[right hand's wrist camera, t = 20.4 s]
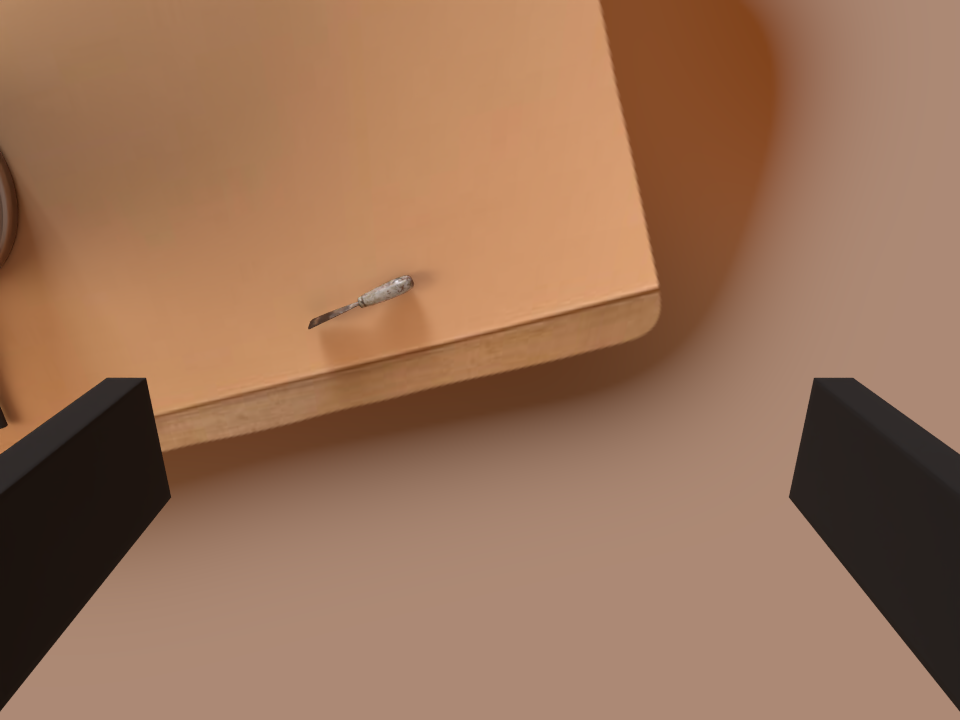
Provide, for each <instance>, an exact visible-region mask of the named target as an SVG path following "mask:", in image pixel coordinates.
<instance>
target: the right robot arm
mask: <svg viewBox="0 0 960 720" xmlns="http://www.w3.org/2000/svg"><path fill="white" fill-rule="evenodd" d="M17 223H18V206H17V197H16V192H15V187H14V183H13V180H12V177H11V174H10V171H9V168H8V166H7V163H6V161H5V159H4V157H3V155H2V153H1V151H0V268H1V267H2V265H3V264H4V262H5V261H6V259H7V258H8V255H9V253H10V251H11V249H12V246H13V243H14V240H15V236H16V231H17ZM7 425H8V424H7V422H6V420H5V417H4V415H3V412H2V410H1V408H0V429H1V428H4V427H6V426H7ZM170 498H171V495H170V490H169V485H168V480H167V476H166V471H165V466H164V461H163V457H162V452H161V447H160V442H159V437H158V433H157V428H156V423H155V418H154V414H153V409H152V404H151V399H150V395H149V390H148V385H147V380H146V378H106V379H105V380H103V381H102V382H101V383H99V384H98V385H96V386H95V387H94V388H92V389H91V390H89V391H88V392H87V393H85V394H84V395H82V396H81V397H80V398H78V399H77V400H75V401H74V402H73V403H71V404H70V405H68V406H67V407H66V408H64V409H63V410H62V411H60V412H59V413H57V414H56V415H55V416H53V417H52V418H50V419H49V420H48V421H46V422H45V423H43V424H42V425H41V426H39V427H38V428H36V429H35V430H34V431H32V432H31V433H29V434H28V435H27V436H25V437H24V438H22V439H21V440H20V441H18V442H17V443H16V444H14V445H13V446H11V447H10V448H9V449H7V450H6V451H4V452H3V453H2V454H0V711H1V710H2V708H3V707H4V706H5V705H6V703H7V702H8V701H9V700H10V698H11V697H12V696H13V695H14V693H15V692H16V691H17V690H18V688H19V687H20V686H21V685H22V683H23V682H24V681H25V680H26V678H27V677H28V676H29V675H30V673H31V672H32V671H33V670H34V668H35V667H36V666H37V665H38V663H39V662H40V661H41V660H42V658H43V657H44V656H45V655H46V653H47V652H48V651H49V650H50V648H51V647H52V646H53V645H54V643H55V642H56V641H57V639H58V638H59V637H60V636H61V635H62V633H63V632H64V631H65V630H66V628H67V627H68V626H69V625H70V623H71V622H72V621H73V619H74V618H75V617H76V616H77V614H78V613H79V612H80V611H81V609H82V608H83V607H84V606H85V604H86V603H87V602H88V601H89V599H90V598H91V597H92V596H93V594H94V593H95V592H96V591H97V589H98V588H99V587H100V586H101V584H102V583H103V582H104V581H105V579H106V578H107V577H108V576H109V574H110V573H111V572H112V571H113V569H114V568H115V567H116V566H117V564H118V563H119V562H120V561H121V559H122V558H123V557H124V556H125V554H126V553H127V552H128V550H129V549H130V548H131V547H132V546H133V544H134V543H135V542H136V541H137V539H138V538H139V537H140V536H141V534H142V533H143V532H144V531H145V529H146V528H147V527H148V525H149V524H150V523H151V522H152V521H153V519H154V518H155V517H156V516H157V514H158V513H159V512H160V511H161V509H162V508H163V507H164V506H165V504H166V503H167V502H168V500H169V499H170ZM789 498H790V499H791V500H792V502H793V503H794V504H795V506H796V507H797V508H798V509H799V511H800V512H801V513H802V514H803V516H804V517H805V518H806V519H807V521H808V522H809V523H810V524H811V525H812V527H813V528H814V529H815V531H816V532H817V533H818V534H819V536H820V537H821V538H822V539H823V541H824V542H825V543H826V544H827V546H828V547H829V548H830V549H831V551H832V552H833V553H834V554H835V556H836V557H837V558H838V559H839V561H840V562H841V563H842V564H843V566H844V567H845V568H846V569H847V571H848V572H849V573H850V574H851V576H852V577H853V578H854V579H855V581H856V582H857V583H858V584H859V586H860V587H861V588H862V589H863V591H864V592H865V593H866V594H867V596H868V597H869V598H870V599H871V601H872V602H873V603H874V604H875V606H876V607H877V608H878V609H879V611H880V612H881V613H882V614H883V616H884V617H885V618H886V619H887V621H888V622H889V623H890V625H891V626H892V627H893V628H894V630H895V631H896V632H897V633H898V635H899V636H900V637H901V638H902V640H903V641H904V642H905V643H906V645H907V646H908V647H909V648H910V650H911V651H912V652H913V653H914V655H915V656H916V657H917V658H918V660H919V661H920V662H921V663H922V665H923V666H924V667H925V668H926V670H927V671H928V672H929V673H930V675H931V676H932V677H933V678H934V680H935V681H936V682H937V683H938V685H939V686H940V687H941V688H942V690H943V691H944V692H945V693H946V695H947V696H948V697H949V698H950V700H951V701H952V702H953V703H954V705H955V706H956V707H957V708H958V710H959V711H960V454H958V453H957V452H956V451H954V450H953V449H951V448H950V447H949V446H947V445H946V444H944V443H943V442H942V441H940V440H939V439H938V438H936V437H935V436H933V435H932V434H931V433H929V432H928V431H926V430H925V429H923V428H922V427H921V426H919V425H918V424H917V423H915V422H914V421H912V420H911V419H910V418H908V417H907V416H905V415H904V414H903V413H901V412H900V411H898V410H897V409H896V408H894V407H893V406H892V405H890V404H889V403H887V402H886V401H885V400H883V399H882V398H880V397H879V396H878V395H876V394H875V393H873V392H872V391H871V390H869V389H868V388H866V387H865V386H864V385H862V384H861V383H859V382H858V381H857V380H855V379H854V378H814V380H813V385H812V390H811V395H810V400H809V404H808V409H807V414H806V419H805V423H804V428H803V433H802V438H801V442H800V447H799V452H798V457H797V461H796V466H795V471H794V476H793V480H792V485H791V490H790V495H789Z"/></svg>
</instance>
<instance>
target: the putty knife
mask: <svg viewBox="0 0 960 720" xmlns="http://www.w3.org/2000/svg"><path fill="white" fill-rule="evenodd" d="M413 286H414V283H413V280H412V278H411V277H410V276H408V275H406V276H402V277H399V278H396V279H394V280H391V281H389V282H387V283H385V284H383V285H381V286H379V287H377V288H375V289H373V290H371V291H369V292H367V293H365V294H364V295H362V296H361V297H359V298H358V302H356V303H353V304H350V305H348V306H345V307H342V308H339V309H337V310H334V311H332V312H329V313H326V314H324V315H321V316H319V317H317V318H314V319H313V320H311V321H310V324H309V327H308V329H311V328H313V327H315V326H317V325H319V324H321V323H323V322H325V321H327V320H330V319H332V318H334V317H336V316H338V315H340V314H342V313H344V312H346V311H348V310H350V309H352V308H354V307H356V306H358V305H359V306H360V307H361V308H363V307H367V306H371V305H374V304H377V303H380V302H383V301H386V300H389V299H391V298H394V297H396V296H399V295H401V294H403V293H405V292H407V291H409V290H410V289H412V288H413Z"/></svg>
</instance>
